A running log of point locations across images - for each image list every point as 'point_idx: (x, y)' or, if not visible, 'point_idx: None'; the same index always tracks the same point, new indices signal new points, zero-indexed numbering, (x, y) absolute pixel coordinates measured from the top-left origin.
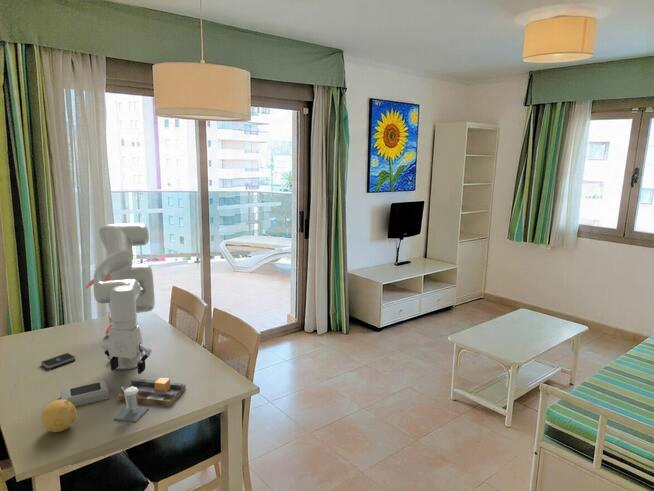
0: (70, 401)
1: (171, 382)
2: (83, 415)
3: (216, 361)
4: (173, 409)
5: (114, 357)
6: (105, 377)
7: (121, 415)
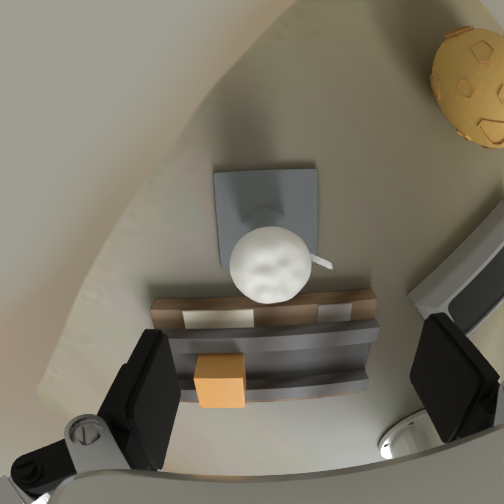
0: (500, 122)
1: None
2: (437, 177)
3: None
4: (133, 285)
5: (471, 422)
6: None
7: (298, 194)
